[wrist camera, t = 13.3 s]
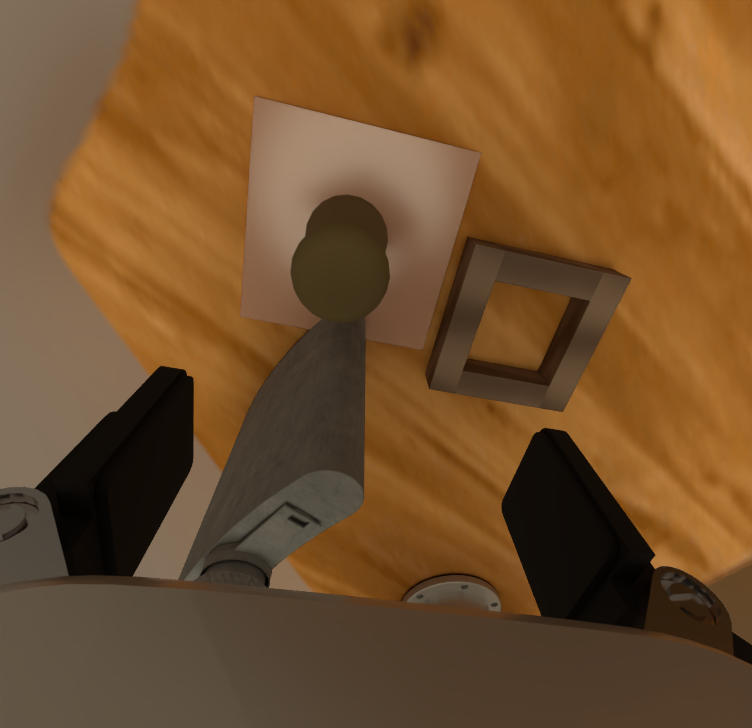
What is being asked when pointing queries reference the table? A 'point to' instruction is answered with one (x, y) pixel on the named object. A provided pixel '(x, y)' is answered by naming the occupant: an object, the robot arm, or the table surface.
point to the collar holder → (568, 348)
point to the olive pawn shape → (342, 260)
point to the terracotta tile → (358, 178)
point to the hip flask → (289, 461)
